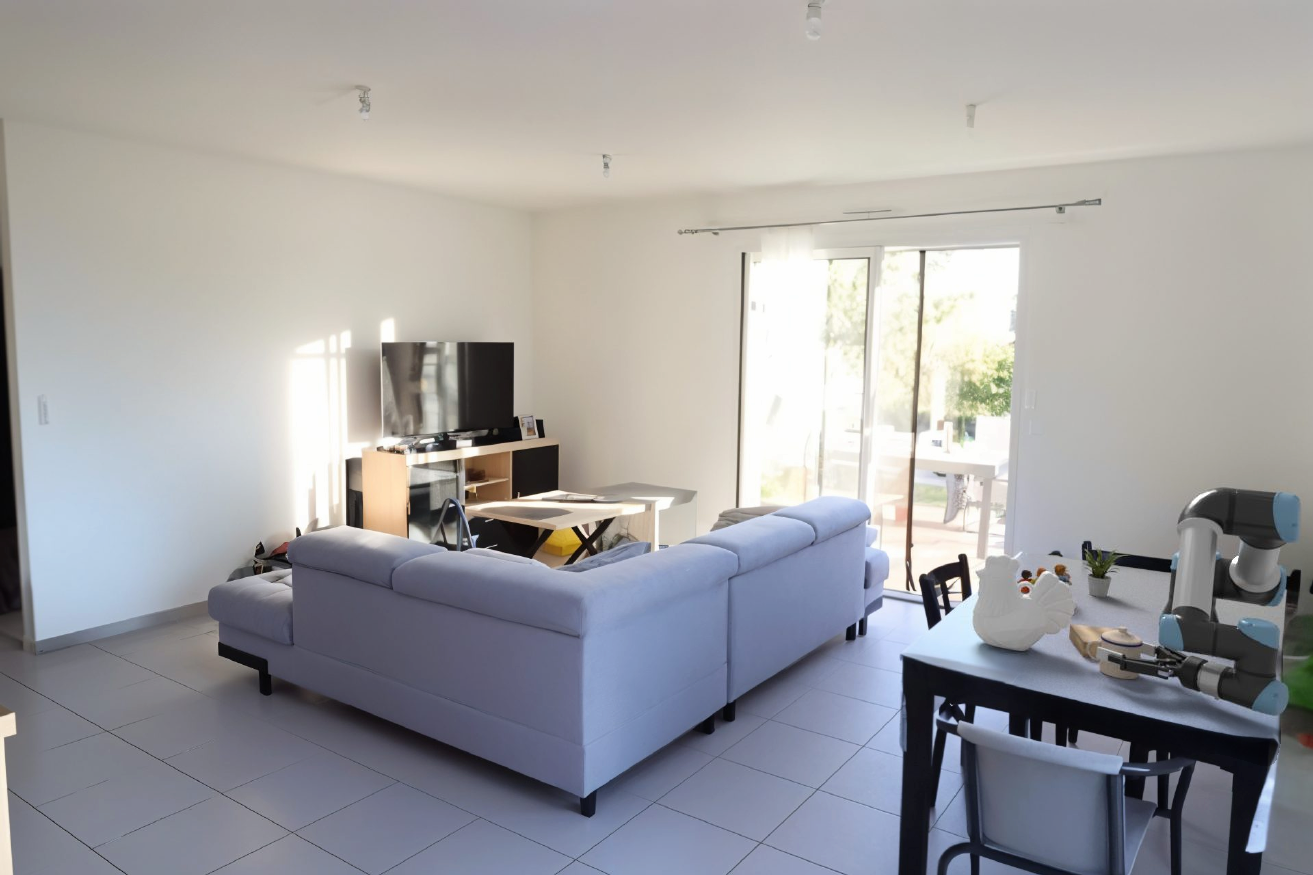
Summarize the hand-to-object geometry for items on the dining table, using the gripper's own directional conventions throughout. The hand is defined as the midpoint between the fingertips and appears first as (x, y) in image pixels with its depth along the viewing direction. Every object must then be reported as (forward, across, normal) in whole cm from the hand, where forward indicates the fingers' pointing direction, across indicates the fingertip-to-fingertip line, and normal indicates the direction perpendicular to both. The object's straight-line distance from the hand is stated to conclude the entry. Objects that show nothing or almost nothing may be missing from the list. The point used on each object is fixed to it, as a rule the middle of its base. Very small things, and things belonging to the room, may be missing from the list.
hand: (1112, 647), depth 212 cm
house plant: (+41, +66, -7) cm, 79 cm away
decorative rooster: (+21, -6, -6) cm, 23 cm away
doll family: (+42, +39, -7) cm, 58 cm away
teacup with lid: (0, 0, -6) cm, 7 cm away
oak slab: (+10, +14, -6) cm, 19 cm away
